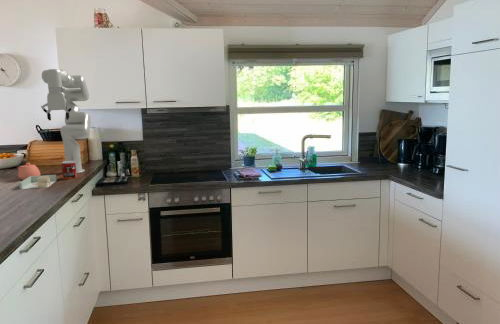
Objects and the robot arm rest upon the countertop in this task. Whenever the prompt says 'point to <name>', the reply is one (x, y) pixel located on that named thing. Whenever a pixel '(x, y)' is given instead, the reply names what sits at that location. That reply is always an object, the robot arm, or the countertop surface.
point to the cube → (43, 181)
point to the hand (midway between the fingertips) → (58, 119)
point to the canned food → (69, 170)
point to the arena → (35, 182)
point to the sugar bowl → (28, 171)
